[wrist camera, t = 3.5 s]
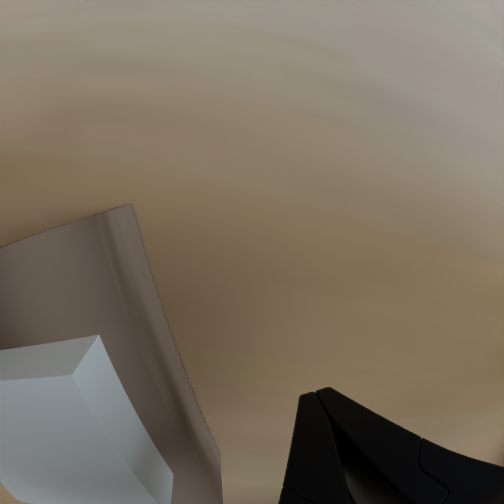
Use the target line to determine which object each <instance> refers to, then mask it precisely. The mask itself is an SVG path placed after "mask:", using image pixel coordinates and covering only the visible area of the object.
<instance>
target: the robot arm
mask: <svg viewBox="0 0 504 504" xmlns="http://www.w3.org/2000/svg"><path fill="white" fill-rule="evenodd" d="M348 489H349V490H348ZM278 504H504V467H502V466H498V465H495V464H491V463H487V462H484V461H481V460H477V459H474V458H470V457H467V456H464V455H461V454H459V453H456V452H453V451H450V450H448V449H446V448H443V447H441V446H439V445H437V444H434V443H432V442H430V441H428V440H426V439H424V438H422V439H421V437H420V436H418V435H416V434H414V433H412V432H410V431H408V430H406V429H404V428H403V427H401V426H399V425H397V424H395V423H393V422H391V421H389V420H388V419H386V418H384V417H382V416H380V415H378V414H376V413H375V412H373V411H371V410H369V409H367V408H366V407H364V406H362V405H360V404H359V403H357V402H355V401H353V400H352V399H350V398H348V397H346V396H345V395H343V394H341V393H339V392H338V391H336V390H334V389H333V388H331V387H326V388H323V389H320V390H317V391H316V392H309V393H306V394H302V395H300V397H299V402H298V408H297V414H296V420H295V426H294V431H293V437H292V442H291V447H290V453H289V458H288V463H287V468H286V473H285V478H284V482H283V488H282V491H281V495H280V500H279V503H278Z"/></svg>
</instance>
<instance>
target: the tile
mask: <svg viewBox="0 0 504 504" xmlns="http://www.w3.org/2000/svg"><path fill="white" fill-rule="evenodd" d="M0 482H1V484H2V485H3V486H4V487H5V488H6V489H7V490H8V491H9V492H10V493H11V494H12V495H13V496H14V497H15V498H16V499H17V500H18V501H22V502H26V503H31V504H171V497H172V485H173V473H172V471H171V470H170V468H169V467H168V465H167V464H166V462H165V461H164V459H163V457H162V456H161V454H160V453H159V451H158V449H157V448H156V446H155V445H154V443H153V441H152V440H151V438H150V436H149V434H148V433H147V431H146V429H145V427H144V426H143V424H142V422H141V420H140V419H139V417H138V415H137V413H136V411H135V409H134V408H133V406H132V404H131V402H130V400H129V398H128V396H127V394H126V392H125V390H124V388H123V386H122V384H121V382H120V380H119V378H118V376H117V374H116V372H115V370H114V367H113V365H112V363H111V361H110V359H109V356H108V354H107V352H106V350H105V347H104V345H103V343H102V340H101V338H100V336H99V335H94V336H89V337H83V338H77V339H71V340H65V341H59V342H53V343H47V344H40V345H33V346H27V347H20V348H13V349H5V350H0Z"/></svg>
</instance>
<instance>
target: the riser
mask: <svg viewBox="0 0 504 504" xmlns="http://www.w3.org/2000/svg"><path fill="white" fill-rule="evenodd" d="M94 335H99V336H100V338H101V340H102V343H103V345H104V347H105V350H106V352H107V354H108V356H109V359H110V361H111V363H112V365H113V367H114V370H115V372H116V374H117V376H118V378H119V380H120V382H121V384H122V386H123V388H124V390H125V392H126V394H127V396H128V398H129V400H130V402H131V404H132V406H133V408H134V409H135V411H136V413H137V415H138V417H139V419H140V420H141V422H142V424H143V426H144V427H145V429H146V431H147V433H148V434H149V436H150V438H151V440H152V441H153V443H154V445H155V446H156V448H157V449H158V451H159V453H160V454H161V456H162V457H163V459H164V461H165V462H166V464H167V465H168V467H169V468H170V470H171V471H172V473H173V485H172V497H171V504H223V498H222V481H221V463H220V452H219V450H218V448H217V446H216V444H215V441H214V439H213V437H212V435H211V433H210V430H209V428H208V426H207V424H206V421H205V419H204V417H203V414H202V412H201V410H200V407H199V405H198V403H197V400H196V398H195V395H194V393H193V390H192V388H191V385H190V383H189V380H188V378H187V375H186V373H185V370H184V368H183V365H182V362H181V360H180V357H179V354H178V352H177V349H176V346H175V344H174V341H173V338H172V335H171V332H170V329H169V327H168V324H167V321H166V318H165V315H164V312H163V309H162V306H161V303H160V300H159V297H158V294H157V290H156V287H155V284H154V281H153V277H152V274H151V271H150V268H149V264H148V261H147V257H146V254H145V250H144V247H143V243H142V239H141V236H140V232H139V228H138V225H137V221H136V217H135V213H134V209H133V205H132V204H130V205H126V206H123V207H120V208H116V209H113V210H109V211H106V212H103V213H100V214H96V215H93V216H90V217H87V218H84V219H81V220H78V221H74V222H71V223H68V224H65V225H62V226H59V227H56V228H54V229H51V230H48V231H45V232H42V233H39V234H36V235H34V236H31V237H28V238H25V239H23V240H20V241H17V242H15V243H12V244H9V245H7V246H4V247H1V248H0V350H5V349H13V348H20V347H27V346H33V345H40V344H47V343H53V342H59V341H65V340H71V339H77V338H83V337H89V336H94Z"/></svg>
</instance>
